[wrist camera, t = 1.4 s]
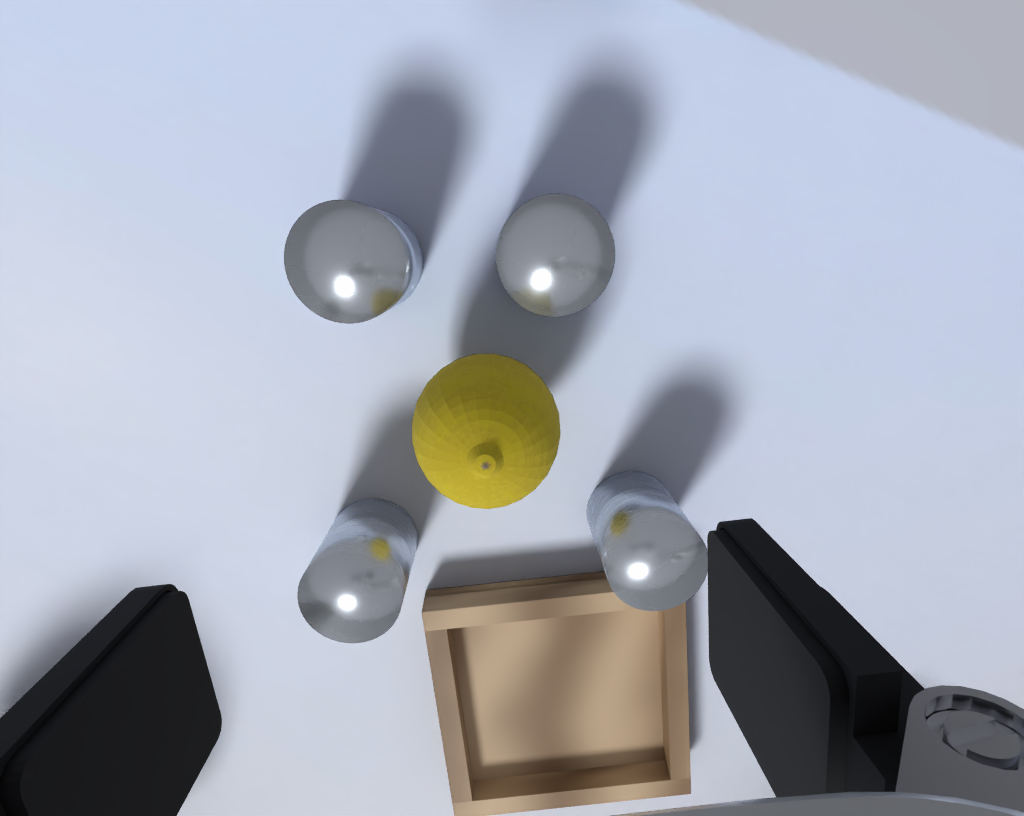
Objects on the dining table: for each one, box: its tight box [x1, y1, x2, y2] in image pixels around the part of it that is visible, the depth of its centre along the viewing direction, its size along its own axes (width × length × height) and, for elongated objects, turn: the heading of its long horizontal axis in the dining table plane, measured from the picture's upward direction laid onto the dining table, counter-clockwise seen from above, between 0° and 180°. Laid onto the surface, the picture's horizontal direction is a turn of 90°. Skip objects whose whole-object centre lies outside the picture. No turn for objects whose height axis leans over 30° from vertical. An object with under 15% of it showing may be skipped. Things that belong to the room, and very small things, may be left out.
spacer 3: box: [496, 194, 615, 317], centre depth 22 cm, size 4×4×5 cm
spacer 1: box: [284, 200, 423, 323], centre depth 22 cm, size 4×4×5 cm
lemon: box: [412, 354, 560, 509], centre depth 22 cm, size 6×6×8 cm
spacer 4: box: [587, 471, 708, 611], centre depth 25 cm, size 4×4×5 cm
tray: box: [422, 571, 691, 816], centre depth 29 cm, size 12×12×2 cm
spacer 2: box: [298, 498, 418, 643], centre depth 25 cm, size 4×4×5 cm
